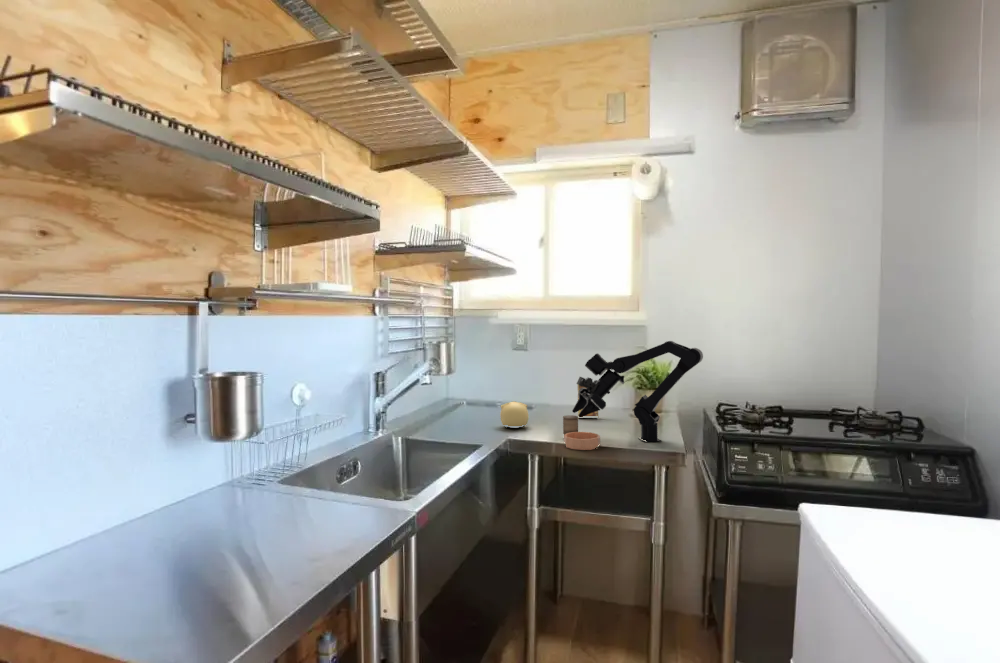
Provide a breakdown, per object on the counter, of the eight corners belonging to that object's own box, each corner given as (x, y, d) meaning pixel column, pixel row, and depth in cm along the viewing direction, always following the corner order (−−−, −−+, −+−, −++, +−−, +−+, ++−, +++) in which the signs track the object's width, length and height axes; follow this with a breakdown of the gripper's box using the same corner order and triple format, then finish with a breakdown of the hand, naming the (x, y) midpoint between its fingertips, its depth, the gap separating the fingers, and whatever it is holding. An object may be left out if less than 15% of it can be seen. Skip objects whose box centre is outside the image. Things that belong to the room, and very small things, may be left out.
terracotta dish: (603, 449, 175) (603, 438, 175) (569, 450, 174) (569, 440, 174) (593, 441, 187) (593, 431, 187) (561, 442, 186) (561, 432, 186)
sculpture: (526, 424, 219) (526, 399, 219) (530, 430, 207) (530, 403, 207) (499, 425, 218) (499, 399, 218) (501, 431, 206) (501, 404, 206)
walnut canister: (579, 439, 190) (579, 417, 190) (565, 440, 189) (565, 418, 189) (576, 436, 195) (575, 415, 195) (561, 436, 195) (561, 415, 195)
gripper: (583, 366, 202) (555, 395, 201) (597, 371, 184) (566, 403, 183) (603, 386, 203) (575, 415, 202) (618, 393, 184) (588, 425, 184)
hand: (576, 414), depth 193 cm, fingers open, 9 cm apart
